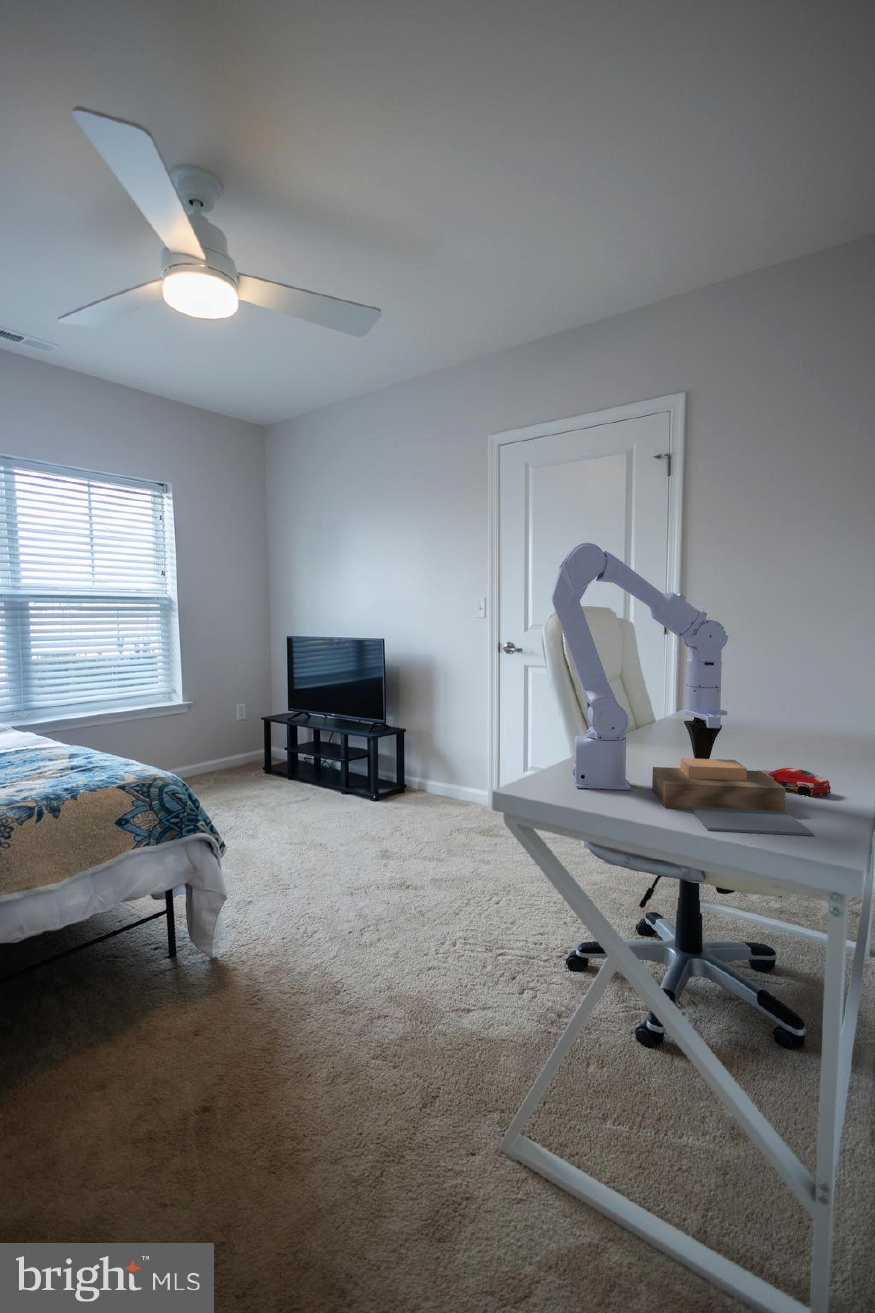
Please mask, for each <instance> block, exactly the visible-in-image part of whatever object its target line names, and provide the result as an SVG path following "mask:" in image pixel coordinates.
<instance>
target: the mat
mask: <svg viewBox="0 0 875 1313" xmlns="http://www.w3.org/2000/svg"><path fill="white" fill-rule="evenodd" d="M690 810H691V811H692V813H693V814H694V813H695V814H694V815H695V816H696V818H697V819H698V820H699V821H700V822H701V824H702V825H703V826H704V828H705V829H706V830H707V831H709V832H710V831H713V832H715V831H716V832H729V833H730V832H731V833H733V832H736V833H752V834H768V835H769V834H771V835H772V834H775V835H791V836H808V837H809V836H810V837H811V836H812V837H813V836H814V832H812V831H811V830H810V829H809V828H808V827H806V826H805V825H803V824H802V823H801V822H800V821H798V820H797V819H796V818H795V817H793V816H792V815H791V814H789V812H787V811H786V810H785V811H777V810H755V809H734V808H712V807H691V809H690Z"/></svg>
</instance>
